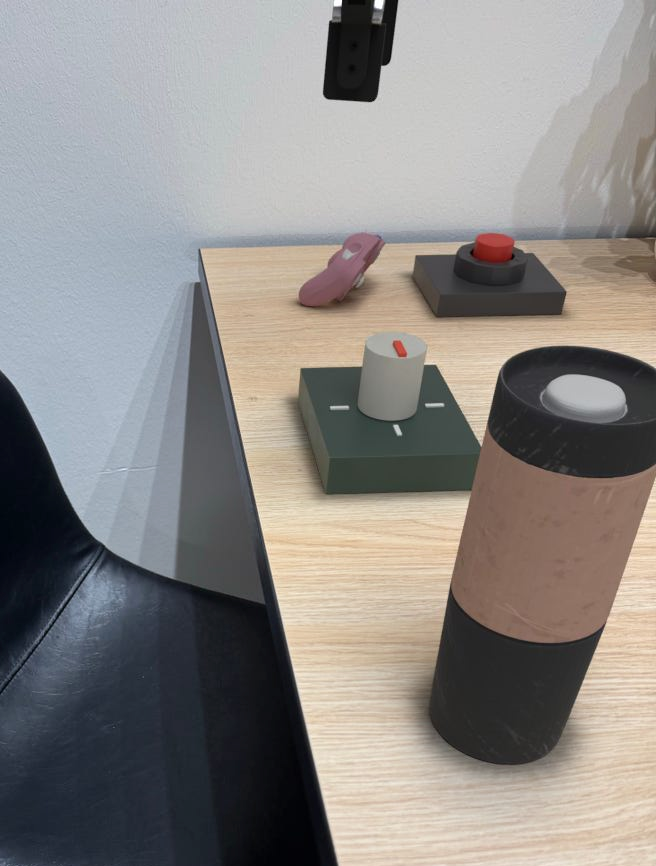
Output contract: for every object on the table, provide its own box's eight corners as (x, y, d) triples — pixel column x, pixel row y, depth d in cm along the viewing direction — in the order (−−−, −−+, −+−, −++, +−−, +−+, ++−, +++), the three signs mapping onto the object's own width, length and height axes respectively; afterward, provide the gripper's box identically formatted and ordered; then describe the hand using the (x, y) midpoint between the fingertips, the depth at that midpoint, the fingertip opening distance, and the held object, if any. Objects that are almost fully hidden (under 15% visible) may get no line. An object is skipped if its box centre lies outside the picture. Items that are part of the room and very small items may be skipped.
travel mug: (395, 717, 57) (461, 382, 44) (472, 652, 61) (553, 328, 48) (519, 792, 53) (631, 446, 40) (592, 717, 57) (716, 382, 44)
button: (504, 250, 101) (508, 232, 100) (515, 264, 98) (519, 245, 97) (468, 251, 101) (471, 233, 100) (478, 265, 98) (481, 246, 97)
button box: (528, 274, 106) (537, 234, 103) (561, 314, 98) (572, 272, 96) (412, 276, 105) (418, 236, 103) (436, 317, 98) (443, 275, 95)
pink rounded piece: (330, 328, 99) (369, 269, 94) (291, 300, 99) (329, 239, 94) (362, 292, 106) (400, 234, 101) (326, 265, 106) (363, 207, 101)
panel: (297, 401, 85) (300, 365, 83) (430, 398, 85) (436, 362, 83) (325, 494, 74) (330, 455, 72) (477, 489, 75) (485, 451, 73)
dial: (352, 394, 79) (360, 327, 76) (409, 392, 80) (419, 326, 76) (363, 422, 76) (372, 354, 73) (422, 420, 76) (434, 352, 73)
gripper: (467, -291, 47) (409, 120, 58) (474, -280, 60) (426, 55, 71) (302, -291, 48) (276, 111, 59) (344, -281, 61) (316, 49, 72)
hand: (358, 80), depth 65 cm, fingers open, 9 cm apart
